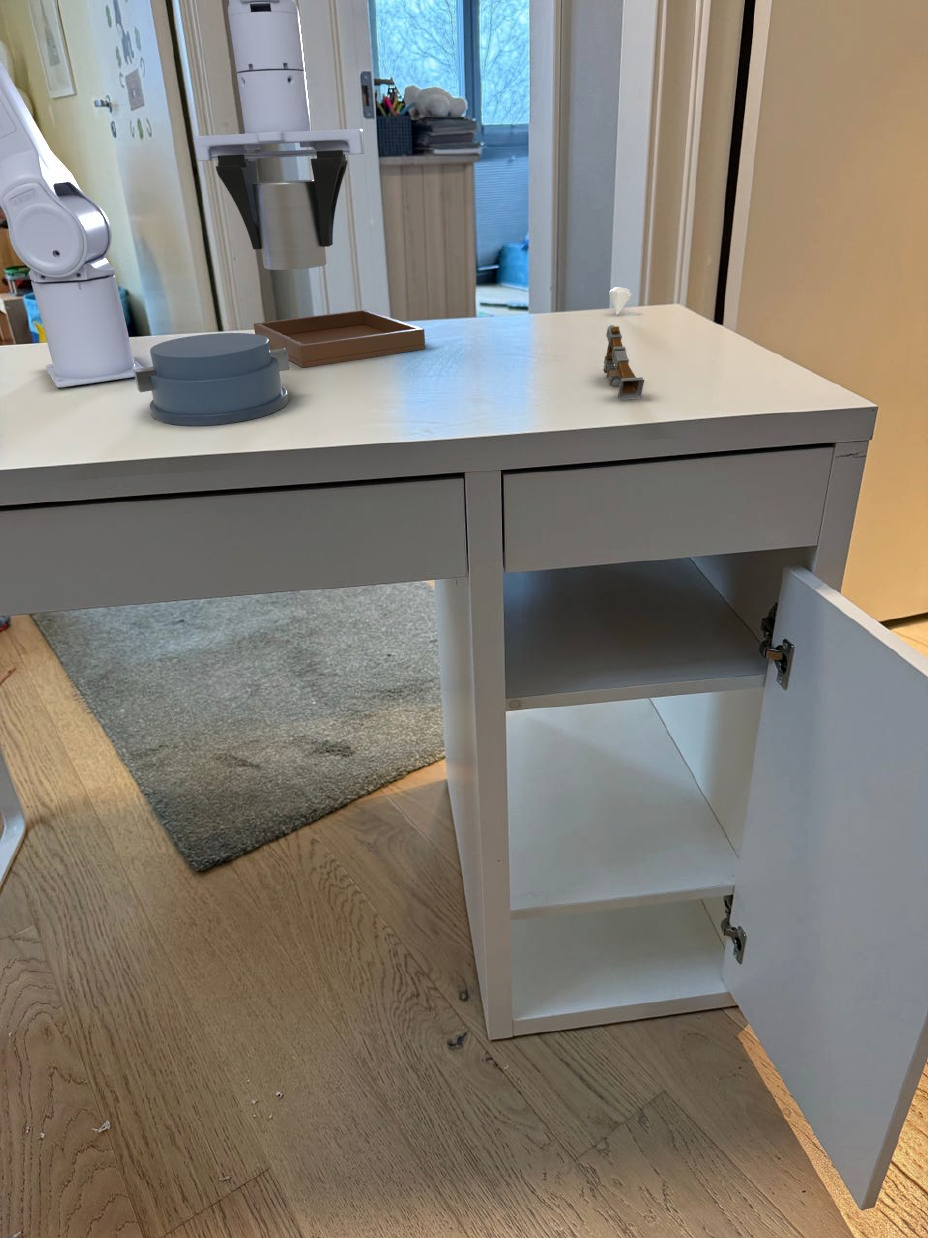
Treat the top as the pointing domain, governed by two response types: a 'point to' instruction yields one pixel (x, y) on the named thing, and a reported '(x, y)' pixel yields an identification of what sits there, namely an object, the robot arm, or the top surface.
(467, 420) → the top surface
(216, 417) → the lidded cooking pot
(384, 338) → the tray
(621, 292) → the gemstone
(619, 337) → the brown grey angular piece
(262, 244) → the cup
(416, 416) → the top surface
